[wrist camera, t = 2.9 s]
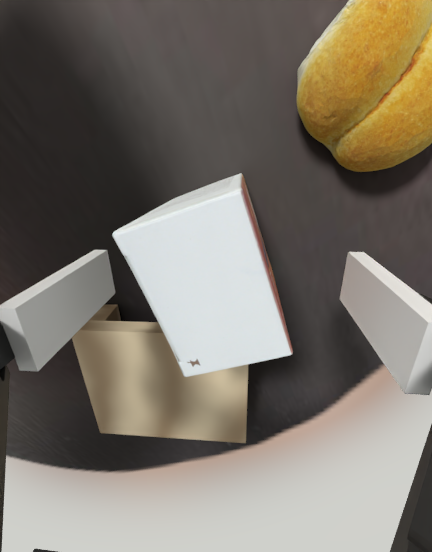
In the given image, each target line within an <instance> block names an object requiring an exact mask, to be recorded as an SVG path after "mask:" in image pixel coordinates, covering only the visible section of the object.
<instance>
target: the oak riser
mask: <svg viewBox="0 0 432 552" xmlns="http://www.w3.org/2000/svg"><path fill="white" fill-rule="evenodd" d="M72 341H73V344H74V347H75V351H76V354H77V357H78V361H79V364H80V367H81V371H82V374H83V377H84V380H85V384H86V387H87V390H88V394H89V397H90V400H91V404H92V407H93V410H94V414H95V417H96V420H97V424H98V427H99V430H100V433H107V434H122V435H136V436H150V437H164V438H179V439H193V440H207V441H222V442H236V443H246V423H247V391H248V365H243V366H238V367H233V368H228V369H224V370H219V371H214V372H209V373H205V374H199V375H194V376H189V377H184V375H183V373H182V371H181V369H180V366H179V364H178V362H177V359H176V357H175V355H174V353H173V351H172V348H171V346H170V344H169V342H168V340H167V338H166V336H165V334H164V332H163V330H162V328H161V326H160V324H159V322H131V321H121V317H120V312H119V308H118V305H106V304H104V305H103V306H102V307H101V308H100V309H99V310H98V311H97V312H96V313H95V314H94V315H93V316H92V317H91V318H90V320H89V321H88V322H87V323H86V324H85V325H84V326H83V327H82V328H81V329H80V330H79V331H78V332H77V333H76V334H75V335H74V336H73V337H72Z"/></svg>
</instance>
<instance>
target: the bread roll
mask: <svg viewBox="0 0 432 552" xmlns="http://www.w3.org/2000/svg"><path fill="white" fill-rule="evenodd" d="M297 77H298V89H297V108H298V112H299V115H300V117H301V119H302V122H303V124H304V126H305V128H306V130H307V131H308V132H309V134H310V135H311V136H312V137H314V138H315V139H316V140H318V141H319V142H321V143H323V144H324V145H325V146H326V147H327V148H328V149H329V150H330V151H331V153H332V155H333V156H334V158H335V159H336V160H337V161H338V163H339V164H340V165H341V166H343V167H345V168H346V169H349V170H352V171H356V172H366V171H376V170H381V169H386V168H390V167H394V166H395V165H397V164H399V163H402V162H403V161H405V160H407V159H409V158H411V157H413V156H415V155H416V154H418V153H420V152H421V151H422V150H424V149H425V148H426V147H428V146H429V145H430V144H431V143H432V0H349V1H348V3H347V4H346V5H345V6H344V7H343V9H342V10H341V12H340V13H339V14H338V15H337V16H336V17H335V19H334V20H333V21H332V22H331V24H330V25H329V26H328V27H327V28H326V30H325V31H324V32H323V34H322V36H321V37H320V38H319V39H318V40H317V41H316V42H315V45H314V46H313V47H312V49H311V50H310V53H309V55H308V56H307V57H306V59H305V60H304V61H303V62H302V64H301V66H300V67H299V68H298V70H297Z"/></svg>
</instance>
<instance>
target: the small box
mask: <svg viewBox="0 0 432 552" xmlns="http://www.w3.org/2000/svg"><path fill="white" fill-rule="evenodd" d="M112 236H113V238H114V240H115V242H116V244H117V245H118V247H119V249H120V250H121V252H122V254H123V256H124V257H125V259H126V261H127V263H128V264H129V266H130V268H131V270H132V272H133V274H134V276H135V278H136V280H137V282H138V283H139V285H140V287H141V289H142V291H143V293H144V295H145V297H146V299H147V301H148V303H149V305H150V307H151V309H152V311H153V313H154V315H155V316H156V318H157V320H158V322H159V324H160V326H161V328H162V330H163V332H164V334H165V336H166V338H167V340H168V342H169V344H170V346H171V348H172V351H173V353H174V355H175V357H176V359H177V362H178V364H179V366H180V369H181V371H182V373H183V375H184V377H189V376H194V375H199V374H205V373H209V372H214V371H219V370H224V369H228V368H233V367H238V366H243V365H248V364H252V363H257V362H262V361H267V360H271V359H276V358H280V357H284V356H290V355H292V354H293V350H292V346H291V342H290V338H289V334H288V330H287V327H286V323H285V319H284V315H283V311H282V307H281V303H280V299H279V295H278V291H277V287H276V283H275V279H274V275H273V271H272V268H271V265H270V262H269V259H268V255H267V252H266V249H265V245H264V242H263V239H262V235H261V232H260V229H259V226H258V223H257V219H256V216H255V213H254V209H253V206H252V203H251V199H250V196H249V193H248V189H247V186H246V183H245V179H244V176H243V174H238V175H235V176H232V177H229V178H226V179H223V180H221V181H218V182H215V183H213V184H210V185H207V186H205V187H202V188H199V189H197V190H194V191H192V192H189V193H187V194H184V195H181V196H179V197H176V198H174V199H172V200H170V201H168V202H167V203H165V204H163V205H161V206H159V207H157V208H156V209H154V210H152V211H150V212H148V213H147V214H145V215H143V216H141V217H140V218H138V219H136V220H134V221H132V222H131V223H129V224H127V225H125V226H123V227H121V228H119V229H117V230H116V231H114V232H113V234H112Z"/></svg>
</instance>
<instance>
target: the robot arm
mask: <svg viewBox="0 0 432 552" xmlns="http://www.w3.org/2000/svg"><path fill="white" fill-rule="evenodd" d="M114 294H115V287H114V282H113V277H112V272H111V267H110V261H109V256H108V251H107V250H93V251H92V252H90V253H88V254H86V255H85V256H83V257H81V258H80V259H78V260H76V261H74V262H73V263H71V264H69V265H68V266H66V267H64V268H62V269H61V270H59V271H57V272H56V273H54V274H52V275H50V276H49V277H47V278H45V279H44V280H42V281H40V282H38V283H37V284H35V285H33V286H31V287H30V288H28V289H26V290H25V291H23V292H21V293H19V294H18V295H16V296H14V297H13V298H11V299H9V300H7V301H6V302H4V303H2V304H1V305H0V552H1V548H2V526H3V506H4V483H5V463H6V442H7V421H8V400H9V379H10V372H9V370H8V367H7V364H8V363H9V362H10V361H11V360H13V359H14V358H15V360H16V363H17V365H18V368H19V370H21V371H39V370H40V369H41V368H42V367H43V366H44V365H45V364H46V363H47V362H48V361H49V360H50V359H51V358H52V357H53V356H54V355H55V354H56V353H57V352H58V351H59V350H60V349H61V348H62V347H63V346H64V345H65V344H66V343H67V342H68V341H69V340H70V339H71V338H72V337H73V336H74V335H75V334H76V333H77V332H78V331H79V330H80V329H81V328H82V327H83V326H84V325H85V324H86V323H87V322H88V321H89V320H90V318H91V317H92V316H93V315H94V314H95V313H96V312H97V311H98V310H99V309H100V308H101V307H102V306H103V305H104V304H105V303H106V302H107V301H108V300H109V299H110V298H111V297H112V296H113V295H114ZM340 300H341V302H342V303H343V305H344V306H345V307H346V309H347V310H348V312H349V313H350V315H351V316H352V318H353V319H354V321H355V322H356V324H357V325H358V326H359V328H360V329H361V331H362V332H363V334H364V335H365V337H366V338H367V340H368V341H369V343H370V344H371V345H372V347H373V348H374V350H375V351H376V353H377V354H378V356H379V357H380V359H381V360H382V362H383V363H384V364H385V366H386V367H387V369H388V370H389V372H390V373H391V374H392V376H393V378H394V379H395V380H396V382H397V383H398V385H399V386H400V388H401V389H402V391H403V392H404V393H405V394H421V395H429V394H430V392H431V389H432V299H431V298H428V297H426V296H424V295H422V294H418V293H416V292H415V291H414V290H412V289H411V288H410V287H409V286H407V285H406V284H405V283H403V282H402V281H401V280H399V279H398V278H397V277H396V276H394V275H393V274H392V273H390V272H389V271H388V270H386V269H385V268H384V267H382V266H381V265H380V264H379V263H377V262H376V261H375V260H373V259H372V258H371V257H369V256H368V255H367V254H366V253H364V252H348V256H347V261H346V267H345V272H344V278H343V283H342V289H341V295H340ZM33 552H55V551H48V550H41V549H34V550H33ZM390 552H432V425H431V428H430V431H429V434H428V437H427V441H426V443H425V446H424V449H423V452H422V455H421V458H420V461H419V465H418V468H417V471H416V474H415V477H414V480H413V483H412V486H411V489H410V492H409V495H408V498H407V501H406V504H405V507H404V510H403V513H402V516H401V519H400V523H399V526H398V529H397V532H396V535H395V538H394V541H393V544H392V547H391V550H390Z"/></svg>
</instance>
